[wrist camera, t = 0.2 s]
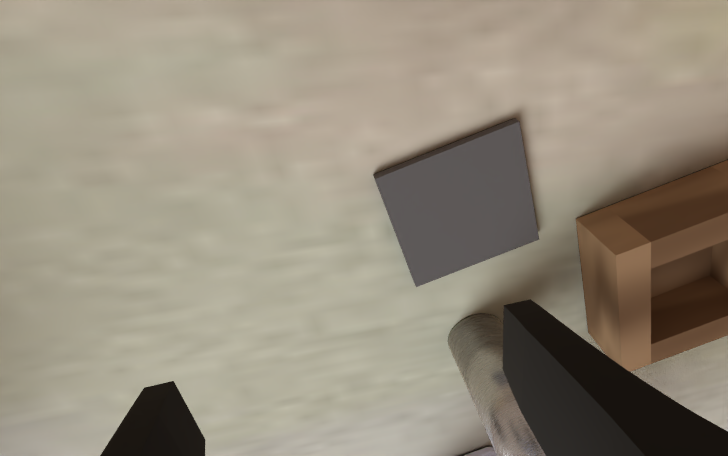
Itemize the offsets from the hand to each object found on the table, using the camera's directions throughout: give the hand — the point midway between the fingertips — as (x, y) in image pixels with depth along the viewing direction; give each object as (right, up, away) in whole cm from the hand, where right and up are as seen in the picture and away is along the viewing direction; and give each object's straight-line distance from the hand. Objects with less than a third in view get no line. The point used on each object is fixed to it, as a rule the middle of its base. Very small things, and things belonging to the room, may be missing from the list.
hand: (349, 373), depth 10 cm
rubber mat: (+4, +4, +10) cm, 12 cm away
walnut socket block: (+15, +2, +13) cm, 20 cm away
